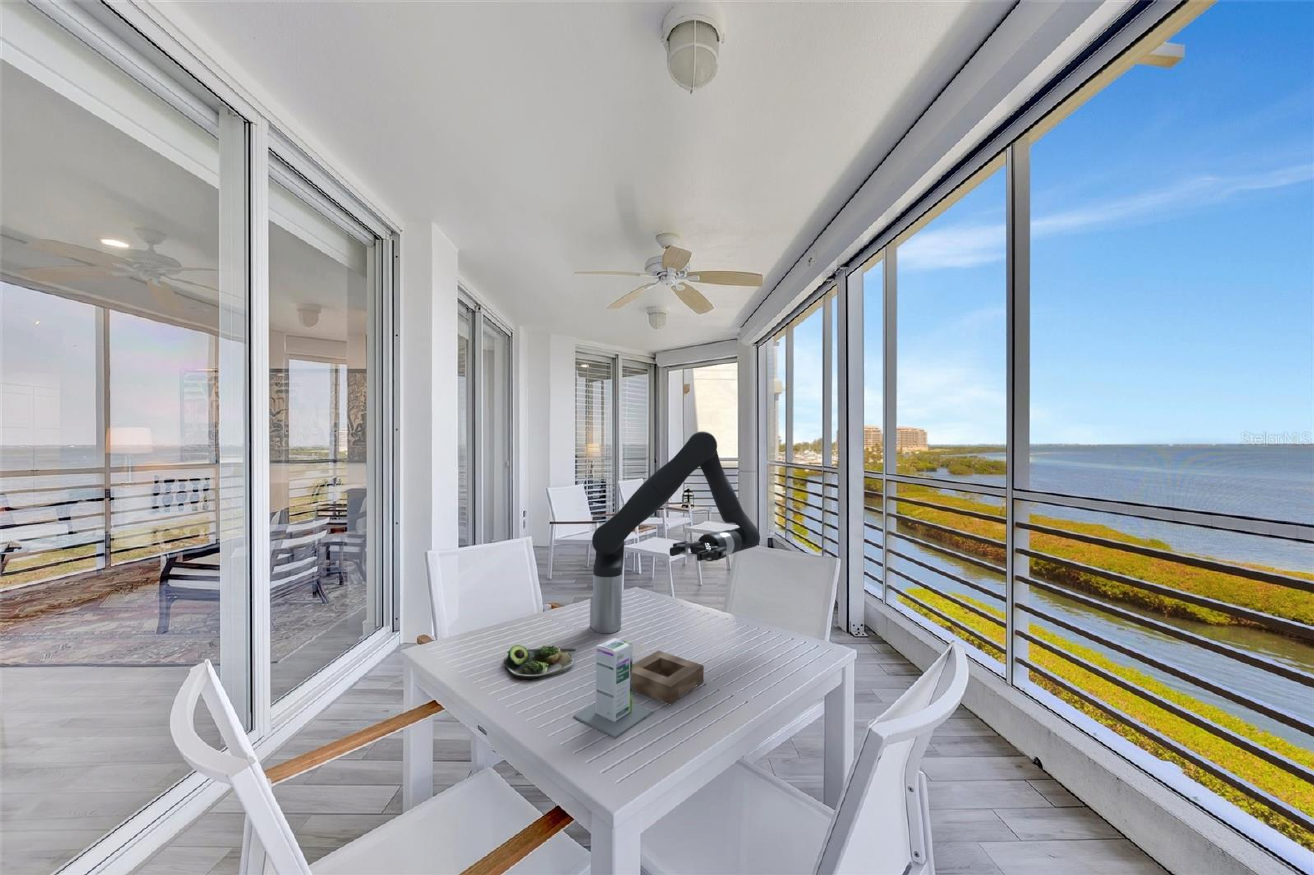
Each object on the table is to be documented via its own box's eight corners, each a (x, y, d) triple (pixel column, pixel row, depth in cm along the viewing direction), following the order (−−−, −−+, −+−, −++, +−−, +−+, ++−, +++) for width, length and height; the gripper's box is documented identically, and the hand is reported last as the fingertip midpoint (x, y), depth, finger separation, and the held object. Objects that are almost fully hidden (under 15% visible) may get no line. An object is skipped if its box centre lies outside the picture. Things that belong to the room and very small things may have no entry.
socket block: (622, 685, 115) (623, 668, 115) (658, 665, 126) (658, 650, 126) (670, 705, 107) (670, 686, 107) (703, 682, 118) (703, 665, 118)
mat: (573, 717, 101) (573, 715, 101) (611, 695, 110) (611, 693, 110) (615, 738, 94) (615, 736, 94) (652, 713, 103) (652, 711, 103)
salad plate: (564, 645, 139) (564, 629, 140) (590, 669, 124) (591, 651, 125) (496, 659, 129) (497, 642, 129) (516, 687, 114) (517, 667, 114)
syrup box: (614, 723, 98) (616, 651, 99) (594, 713, 102) (595, 644, 102) (632, 711, 103) (633, 643, 103) (612, 702, 106) (613, 636, 107)
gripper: (695, 529, 141) (662, 536, 128) (738, 535, 132) (708, 543, 120) (694, 555, 141) (661, 564, 128) (738, 562, 132) (707, 573, 119)
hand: (684, 554), depth 124 cm, fingers open, 8 cm apart
